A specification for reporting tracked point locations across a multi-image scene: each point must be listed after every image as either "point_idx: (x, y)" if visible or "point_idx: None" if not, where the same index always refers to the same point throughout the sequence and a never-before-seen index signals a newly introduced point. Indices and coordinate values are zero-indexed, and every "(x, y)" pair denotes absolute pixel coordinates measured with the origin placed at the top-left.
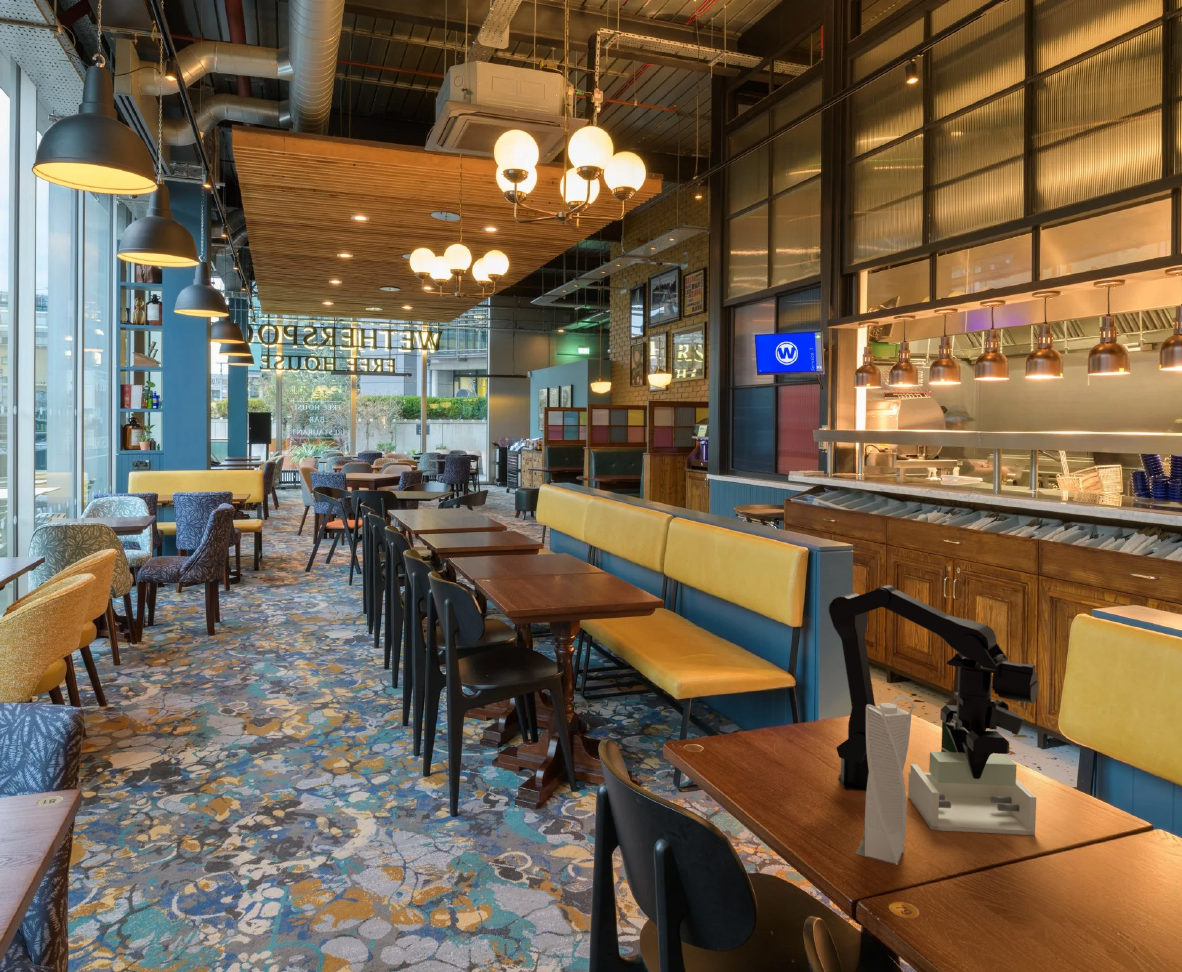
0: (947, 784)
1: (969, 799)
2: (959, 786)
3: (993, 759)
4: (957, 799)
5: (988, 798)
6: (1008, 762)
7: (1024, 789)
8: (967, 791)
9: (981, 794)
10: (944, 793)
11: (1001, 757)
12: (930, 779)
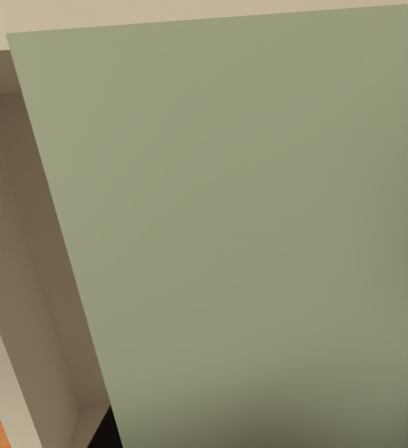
0: (34, 347)
1: (52, 235)
2: (21, 294)
3: (301, 285)
4: (70, 280)
5: (4, 147)
6: (392, 104)
7: (308, 5)
8: (18, 249)
9: (2, 182)
10: (49, 329)
11: (203, 155)
12: (49, 425)
